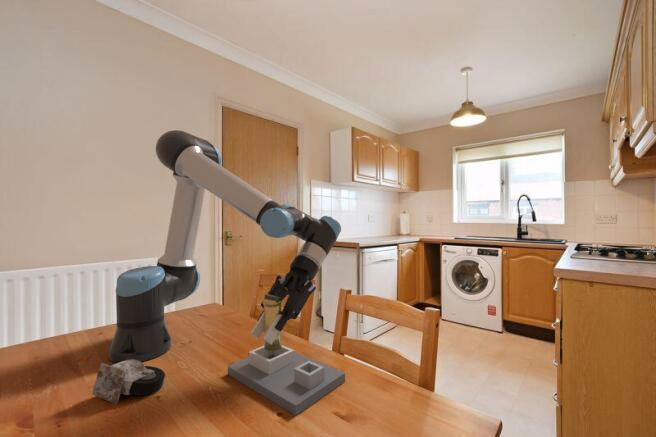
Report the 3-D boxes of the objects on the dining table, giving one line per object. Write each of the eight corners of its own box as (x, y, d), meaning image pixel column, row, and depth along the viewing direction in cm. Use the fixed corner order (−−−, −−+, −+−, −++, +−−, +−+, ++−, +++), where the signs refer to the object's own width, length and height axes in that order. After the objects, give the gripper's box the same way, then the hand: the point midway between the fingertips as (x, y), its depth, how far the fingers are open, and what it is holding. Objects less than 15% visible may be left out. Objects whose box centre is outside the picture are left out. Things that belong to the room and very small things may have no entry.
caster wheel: (167, 393, 71) (132, 414, 61) (128, 377, 74) (88, 395, 64) (175, 364, 72) (142, 380, 62) (136, 349, 74) (98, 363, 64)
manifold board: (227, 374, 75) (227, 353, 75) (277, 351, 87) (277, 334, 87) (295, 415, 59) (295, 390, 59) (345, 381, 72) (345, 360, 72)
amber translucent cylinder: (258, 347, 76) (258, 296, 76) (273, 341, 80) (273, 292, 80) (272, 353, 73) (271, 300, 73) (287, 346, 76) (286, 295, 76)
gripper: (338, 274, 82) (293, 356, 70) (293, 267, 93) (248, 337, 81) (325, 256, 78) (275, 341, 66) (280, 251, 89) (230, 322, 77)
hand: (260, 338), depth 73 cm, fingers closed on amber translucent cylinder, 4 cm apart
